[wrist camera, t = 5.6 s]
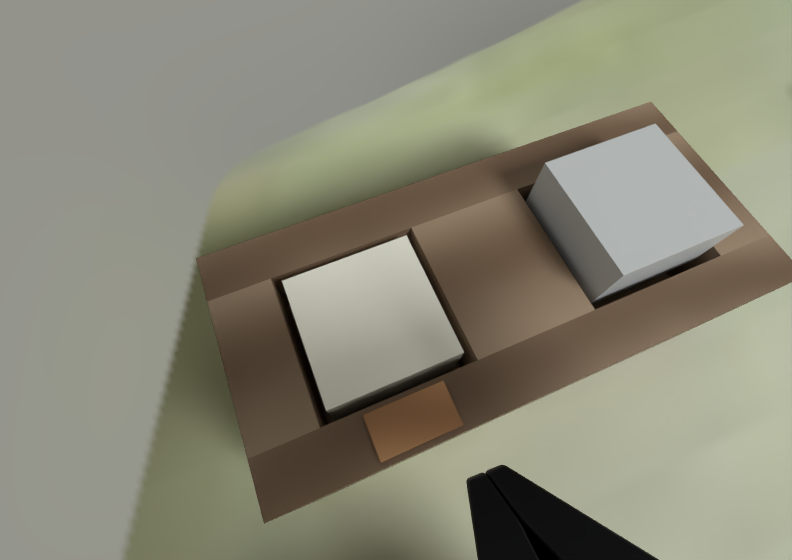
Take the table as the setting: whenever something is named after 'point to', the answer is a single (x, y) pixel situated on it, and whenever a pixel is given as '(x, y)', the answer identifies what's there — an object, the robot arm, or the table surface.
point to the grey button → (627, 211)
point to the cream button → (371, 326)
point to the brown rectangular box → (455, 313)
